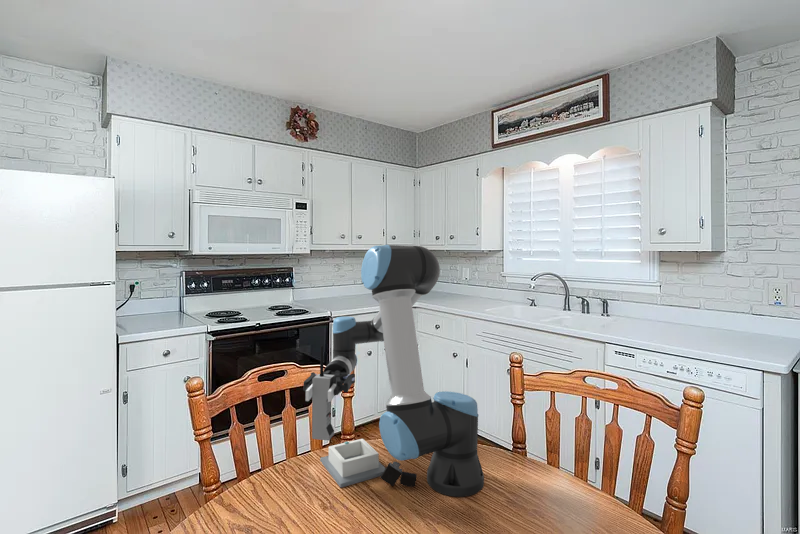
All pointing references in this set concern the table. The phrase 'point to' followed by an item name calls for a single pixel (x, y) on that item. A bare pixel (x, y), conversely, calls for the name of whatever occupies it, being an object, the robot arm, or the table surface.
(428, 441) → the robot arm
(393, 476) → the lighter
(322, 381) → the vintage mobile phone
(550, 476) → the table surface
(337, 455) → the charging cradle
